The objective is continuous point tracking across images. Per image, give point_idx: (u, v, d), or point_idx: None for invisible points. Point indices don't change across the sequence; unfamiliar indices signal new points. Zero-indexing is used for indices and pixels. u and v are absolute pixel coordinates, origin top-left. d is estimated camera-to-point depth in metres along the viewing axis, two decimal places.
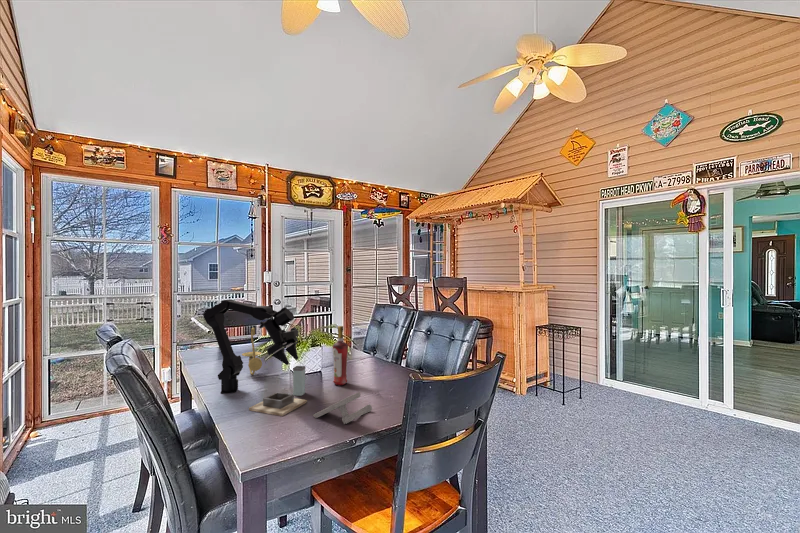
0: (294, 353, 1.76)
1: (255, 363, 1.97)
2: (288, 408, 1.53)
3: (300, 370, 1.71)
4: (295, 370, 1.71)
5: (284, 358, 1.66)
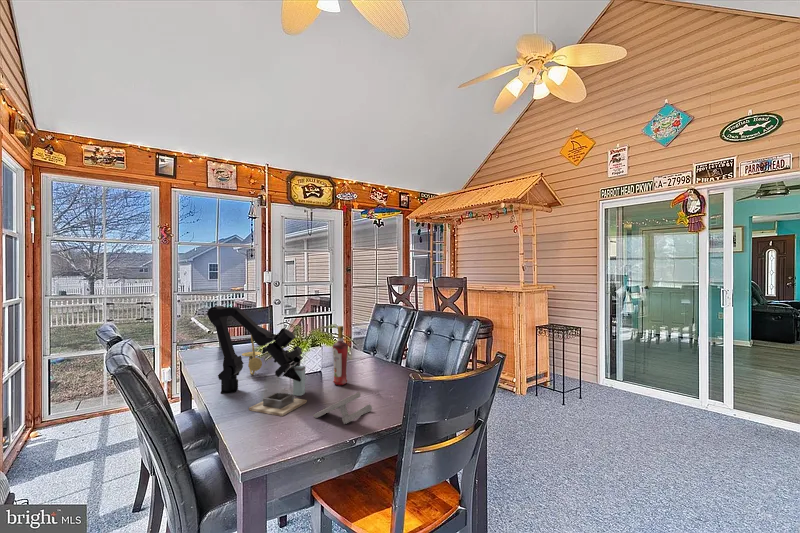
0: None
1: (255, 363, 1.97)
2: (288, 408, 1.53)
3: (300, 370, 1.71)
4: (295, 370, 1.71)
5: (295, 375, 1.70)
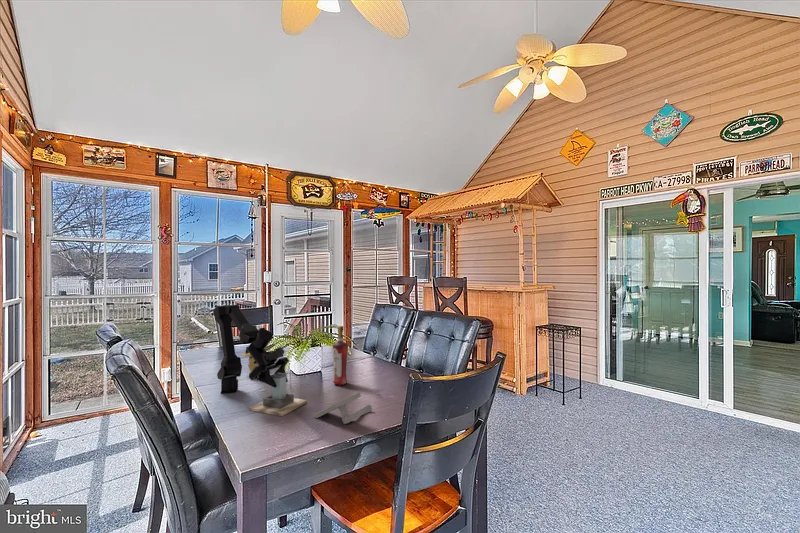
0: None
1: None
2: (288, 408, 1.53)
3: (278, 378, 1.55)
4: (273, 377, 1.56)
5: (270, 381, 1.54)
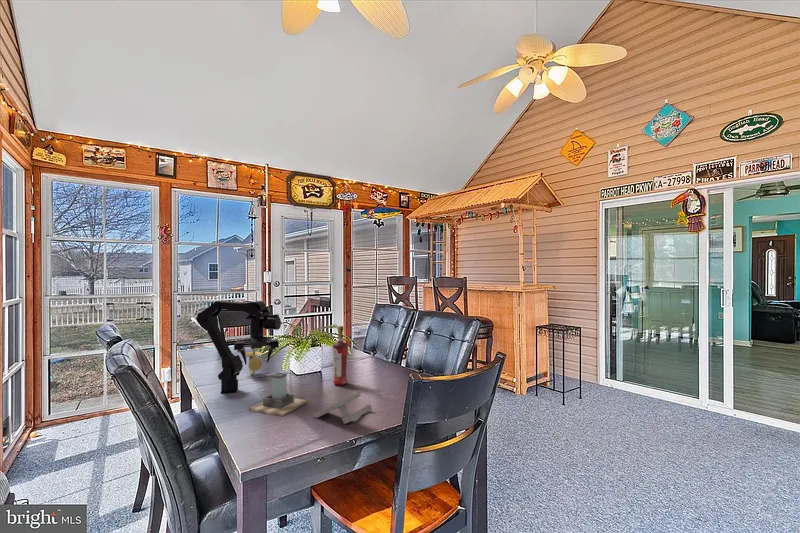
0: None
1: (255, 363, 1.97)
2: (288, 408, 1.53)
3: (278, 378, 1.55)
4: (273, 377, 1.56)
5: (243, 358, 1.73)
